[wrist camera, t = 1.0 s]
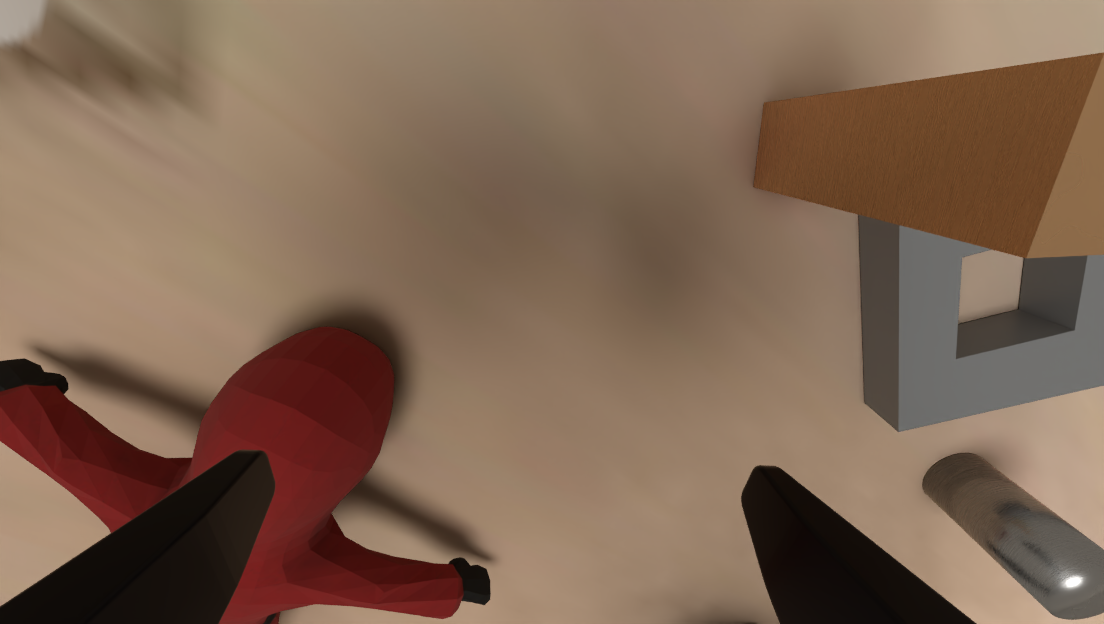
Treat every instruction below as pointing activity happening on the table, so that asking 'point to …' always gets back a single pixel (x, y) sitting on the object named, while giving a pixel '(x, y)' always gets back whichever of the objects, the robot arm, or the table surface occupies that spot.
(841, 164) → the square bit
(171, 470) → the toy
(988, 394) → the socket plate
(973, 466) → the round bit
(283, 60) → the table surface
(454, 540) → the table surface
